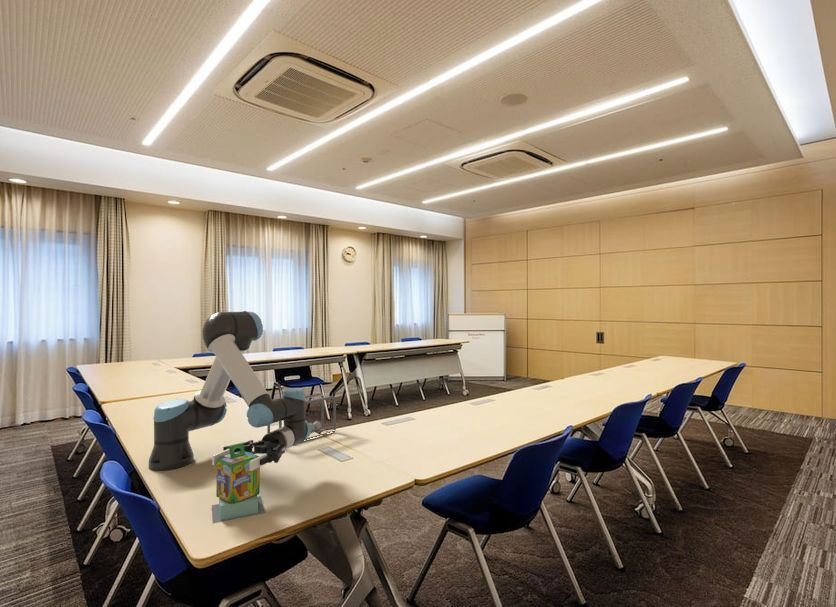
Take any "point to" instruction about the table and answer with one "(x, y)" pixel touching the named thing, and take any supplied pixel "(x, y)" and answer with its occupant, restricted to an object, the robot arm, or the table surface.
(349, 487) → the table surface
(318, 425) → the newton's cradle
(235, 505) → the pedestal
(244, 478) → the chalk box
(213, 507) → the mat
